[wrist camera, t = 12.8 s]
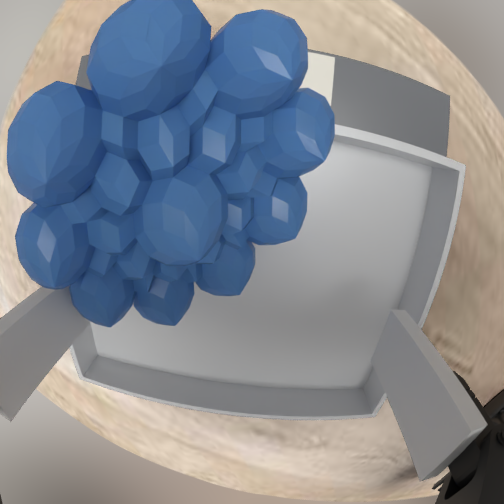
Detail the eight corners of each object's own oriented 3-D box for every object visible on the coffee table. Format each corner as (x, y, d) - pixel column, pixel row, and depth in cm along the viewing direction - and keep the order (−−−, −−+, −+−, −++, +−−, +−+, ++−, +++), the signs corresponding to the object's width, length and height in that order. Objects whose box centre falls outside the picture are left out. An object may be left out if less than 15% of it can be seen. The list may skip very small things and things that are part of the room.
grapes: (284, 177, 16) (242, -29, 6) (357, 260, 12) (385, -36, 2) (114, 271, 15) (-27, 121, 5) (142, 378, 11) (-106, 245, 1)
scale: (425, 102, 14) (481, 89, 8) (362, 366, 21) (384, 419, 15) (104, 67, 14) (52, 43, 8) (104, 334, 20) (70, 379, 15)
